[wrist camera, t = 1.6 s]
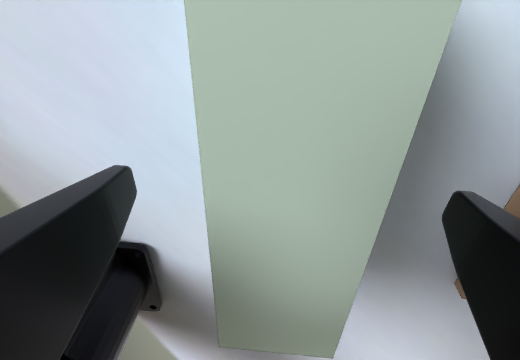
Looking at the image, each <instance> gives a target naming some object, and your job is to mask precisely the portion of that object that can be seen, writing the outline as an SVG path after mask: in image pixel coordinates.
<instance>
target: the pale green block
mask: <svg viewBox="0 0 520 360" xmlns="http://www.w3.org/2000/svg"><path fill="white" fill-rule="evenodd" d="M461 1H462V0H184V6H185V16H186V25H187V35H188V45H189V55H190V65H191V75H192V85H193V94H194V104H195V114H196V124H197V134H198V144H199V154H200V163H201V173H202V183H203V193H204V203H205V213H206V222H207V232H208V242H209V252H210V262H211V272H212V282H213V291H214V301H215V311H216V321H217V331H218V341H219V347H225V348H235V349H244V350H254V351H264V352H274V353H283V354H293V355H303V356H313V357H322V358H332V359H333V357H334V354H335V351H336V348H337V346H338V343H339V340H340V337H341V334H342V332H343V329H344V326H345V323H346V321H347V318H348V315H349V312H350V309H351V307H352V304H353V301H354V298H355V296H356V293H357V290H358V287H359V284H360V282H361V279H362V276H363V273H364V270H365V268H366V265H367V262H368V259H369V257H370V254H371V251H372V248H373V245H374V243H375V240H376V237H377V234H378V232H379V229H380V226H381V223H382V220H383V218H384V215H385V212H386V209H387V207H388V204H389V201H390V198H391V195H392V193H393V190H394V187H395V184H396V181H397V179H398V176H399V173H400V170H401V168H402V165H403V162H404V159H405V156H406V154H407V151H408V148H409V145H410V143H411V140H412V137H413V134H414V131H415V129H416V126H417V123H418V120H419V118H420V115H421V112H422V109H423V106H424V104H425V101H426V98H427V95H428V93H429V90H430V87H431V84H432V81H433V79H434V76H435V73H436V70H437V67H438V65H439V62H440V59H441V56H442V54H443V51H444V48H445V45H446V42H447V40H448V37H449V34H450V31H451V29H452V26H453V23H454V20H455V17H456V15H457V12H458V9H459V6H460V4H461Z"/></svg>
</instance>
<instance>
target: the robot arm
mask: <svg viewBox="0 0 520 360" xmlns="http://www.w3.org/2000/svg"><path fill="white" fill-rule="evenodd" d="M136 194H137V189H136V185H135V181H134V177H133V173H132V170H131V168H130V167H128V166H121V165H114V166H112V167H109V168H107V169H105V170H103V171H101V172H99V173H96V174H94V175H92V176H90V177H88V178H86V179H83V180H81V181H79V182H77V183H75V184H73V185H70V186H68V187H66V188H64V189H62V190H60V191H57V192H55V193H53V194H51V195H49V196H47V197H44V198H42V199H40V200H38V201H36V202H34V203H31V204H29V205H27V206H25V207H23V208H21V209H18V210H16V211H14V212H12V213H10V214H8V215H6V216H3V217H1V218H0V360H118V359H119V356H120V354H121V352H122V349H123V347H124V345H125V342H126V340H127V338H128V336H129V333H130V331H131V329H132V326H133V324H134V322H135V319H136V317H137V315H138V312H139V310H146V311H159V310H160V308H161V306H162V301H161V297H160V293H159V290H158V286H157V282H156V279H155V275H154V271H153V268H152V264H151V260H150V256H149V253H148V250H147V248H146V247H145V246H143V245H141V244H135V243H124V242H119V241H120V239H121V236H122V234H123V231H124V228H125V226H126V223H127V220H128V218H129V215H130V212H131V209H132V207H133V204H134V201H135V198H136ZM442 223H443V227H444V230H445V234H446V238H447V242H448V245H449V249H450V253H451V257H452V260H453V264H454V267H455V270H456V273H457V276H458V279H459V281H460V284H461V286H462V289H463V291H464V294H465V297H466V299H467V302H468V304H469V307H470V309H471V312H472V314H473V317H474V319H475V322H476V324H477V327H478V329H479V332H480V335H481V337H482V340H483V342H484V345H485V347H486V350H487V352H488V355H489V357H490V360H520V219H519V218H517V217H516V216H514V215H512V214H510V213H509V212H507V211H505V210H504V209H502V208H500V207H498V206H497V205H495V204H493V203H491V202H490V201H488V200H486V199H484V198H483V197H481V196H479V195H477V194H476V193H474V192H468V191H456V192H454V193H453V195H452V196H451V198H450V200H449V202H448V204H447V206H446V208H445V210H444V212H443V215H442Z"/></svg>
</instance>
